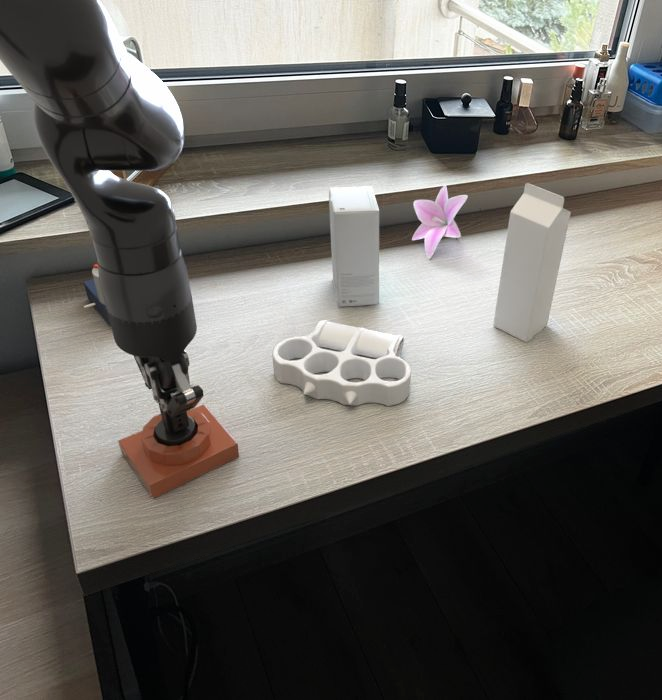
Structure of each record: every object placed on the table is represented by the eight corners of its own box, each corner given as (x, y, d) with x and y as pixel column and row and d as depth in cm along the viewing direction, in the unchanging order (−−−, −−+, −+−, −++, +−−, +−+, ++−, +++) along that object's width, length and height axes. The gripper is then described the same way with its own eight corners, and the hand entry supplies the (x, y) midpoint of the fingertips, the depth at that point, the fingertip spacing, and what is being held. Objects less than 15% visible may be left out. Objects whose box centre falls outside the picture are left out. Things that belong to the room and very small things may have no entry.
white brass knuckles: (425, 353, 100) (396, 425, 88) (301, 328, 102) (257, 394, 90) (427, 334, 98) (397, 404, 86) (300, 308, 99) (255, 374, 88)
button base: (153, 499, 76) (146, 473, 74) (121, 454, 81) (114, 429, 78) (239, 456, 82) (236, 431, 80) (206, 417, 86) (201, 392, 84)
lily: (413, 226, 130) (395, 190, 122) (476, 206, 128) (462, 169, 120) (422, 278, 123) (403, 244, 115) (488, 258, 122) (473, 222, 114)
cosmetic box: (379, 306, 108) (382, 212, 98) (334, 308, 106) (332, 213, 96) (372, 275, 114) (374, 184, 104) (329, 277, 112) (327, 185, 103)
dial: (137, 292, 99) (130, 262, 96) (120, 308, 96) (113, 278, 93) (110, 287, 100) (102, 257, 97) (92, 302, 96) (84, 272, 93)
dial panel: (101, 341, 95) (96, 321, 93) (72, 304, 101) (66, 285, 99) (189, 310, 102) (185, 292, 100) (157, 278, 108) (154, 260, 106)
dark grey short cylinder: (168, 457, 77) (165, 445, 76) (151, 435, 79) (149, 424, 78) (203, 440, 80) (201, 429, 79) (186, 420, 82) (184, 409, 81)
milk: (514, 309, 110) (537, 175, 97) (547, 325, 108) (576, 189, 95) (492, 326, 106) (513, 188, 93) (526, 343, 104) (553, 204, 90)
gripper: (219, 316, 66) (238, 448, 77) (157, 253, 73) (182, 381, 84) (138, 346, 62) (170, 480, 73) (80, 276, 69) (117, 408, 80)
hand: (176, 427), depth 78 cm, fingers closed
